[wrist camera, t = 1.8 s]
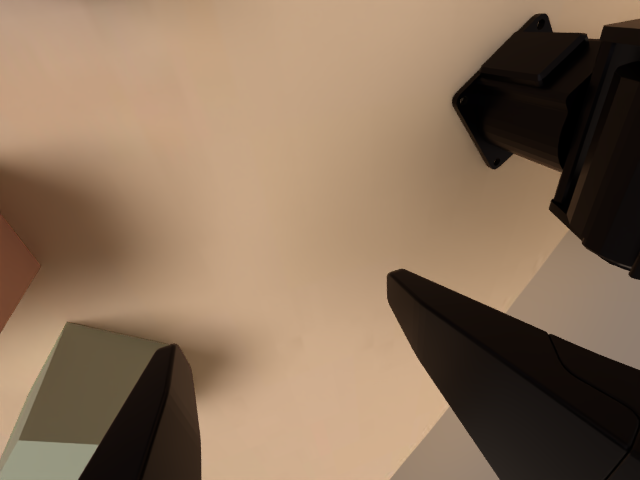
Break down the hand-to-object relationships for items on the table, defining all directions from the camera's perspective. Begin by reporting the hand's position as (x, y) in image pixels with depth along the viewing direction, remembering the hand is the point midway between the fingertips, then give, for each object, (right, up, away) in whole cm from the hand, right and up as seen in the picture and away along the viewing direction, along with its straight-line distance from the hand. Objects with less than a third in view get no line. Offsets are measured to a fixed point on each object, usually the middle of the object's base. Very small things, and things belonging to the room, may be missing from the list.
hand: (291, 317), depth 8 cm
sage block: (-13, -6, +14) cm, 20 cm away
